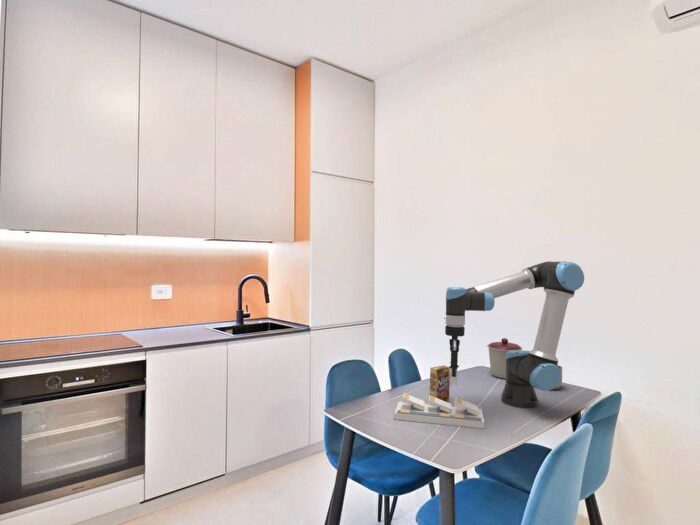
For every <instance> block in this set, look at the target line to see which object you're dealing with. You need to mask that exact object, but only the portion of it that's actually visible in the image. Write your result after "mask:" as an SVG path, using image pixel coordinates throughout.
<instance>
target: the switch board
mask: <svg viewBox="0 0 700 525" xmlns="http://www.w3.org/2000/svg"><path fill="white" fill-rule="evenodd" d="M478 411H479V412H478V414H477V415H474V414H472V413H469V412H465V411H464V410H462V409H460V408H457V407H455V406H453V405H451V410H450V413H448V412H446V411H443V410H441V409H437V408H436V407H434V406H431V405H429V404H428V403H424V408H423V410H420V409H418V408H415V407H411V405H408V404H406V403H403V402H401V401H398V403H397V406H396V408H395V410H394V416H393V417H394V419H393V420H395V421H396V420H397V421H408V422H415V423H416V422H417V423H423V424H424V423H426V424H434V425H435V424H436V425H447V426H455V427H463V428H464V427H465V428H474V429H475V428H477V429H485V419H484V415H483V411H482V408H478Z"/></svg>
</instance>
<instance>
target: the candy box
mask: <svg viewBox="0 0 700 525" xmlns="http://www.w3.org/2000/svg"><path fill="white" fill-rule="evenodd" d="M429 373H430V374H429V393H428V394H429V396H430V395H431V396H433V397H435V398H438V399H440V400H443V401H445V402H447V401H450V385H451V384H450V368H449V366H448V365H439V366H435V367H430V372H429ZM429 396H428V397H429Z"/></svg>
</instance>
